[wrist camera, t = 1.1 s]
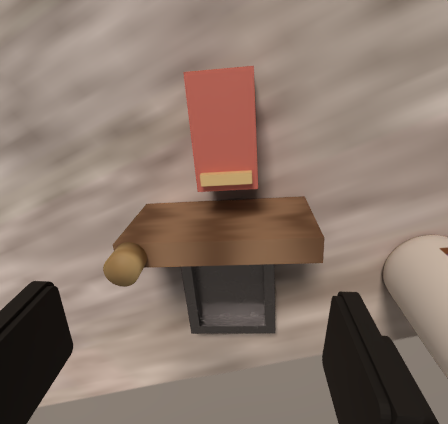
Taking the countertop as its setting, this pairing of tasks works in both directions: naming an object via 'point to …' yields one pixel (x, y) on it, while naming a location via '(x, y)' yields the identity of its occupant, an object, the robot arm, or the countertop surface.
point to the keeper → (230, 298)
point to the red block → (223, 128)
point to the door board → (216, 236)
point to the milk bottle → (422, 290)
